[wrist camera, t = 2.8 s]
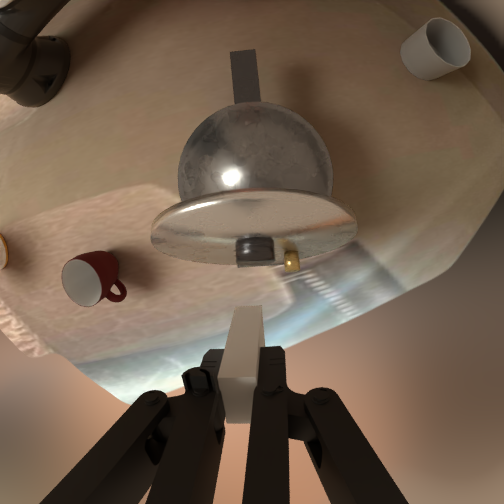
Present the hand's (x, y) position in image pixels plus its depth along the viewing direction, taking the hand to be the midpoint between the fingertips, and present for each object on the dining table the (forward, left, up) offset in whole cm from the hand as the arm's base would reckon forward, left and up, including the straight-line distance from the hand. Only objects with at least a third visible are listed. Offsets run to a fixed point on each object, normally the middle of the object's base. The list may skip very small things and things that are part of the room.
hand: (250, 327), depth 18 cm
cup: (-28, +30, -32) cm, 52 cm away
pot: (-11, 0, -32) cm, 34 cm away
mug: (+5, -27, -32) cm, 43 cm away
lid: (-3, 0, -13) cm, 14 cm away
